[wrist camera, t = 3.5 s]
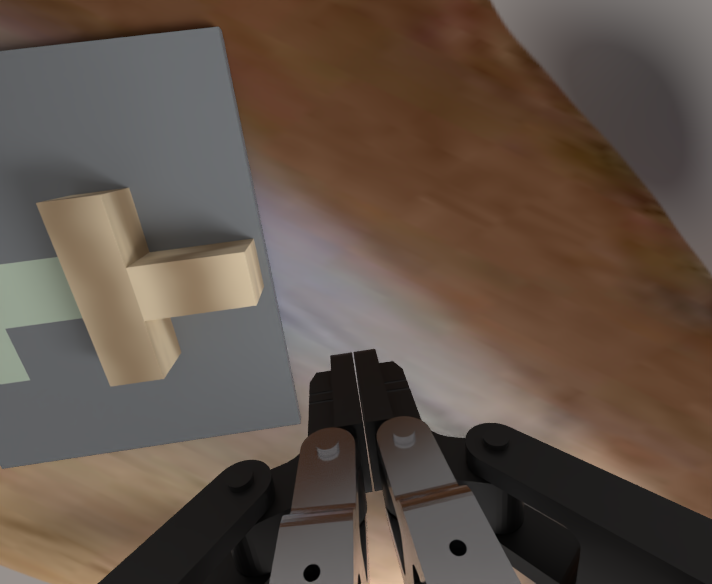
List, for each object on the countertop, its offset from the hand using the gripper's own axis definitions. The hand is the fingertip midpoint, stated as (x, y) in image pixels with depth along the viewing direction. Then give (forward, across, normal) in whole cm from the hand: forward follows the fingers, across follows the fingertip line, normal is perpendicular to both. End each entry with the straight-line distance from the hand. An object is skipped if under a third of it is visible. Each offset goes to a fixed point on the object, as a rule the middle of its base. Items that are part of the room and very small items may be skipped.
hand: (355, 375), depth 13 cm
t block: (+16, +11, 0) cm, 19 cm away
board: (+16, +17, 0) cm, 24 cm away
